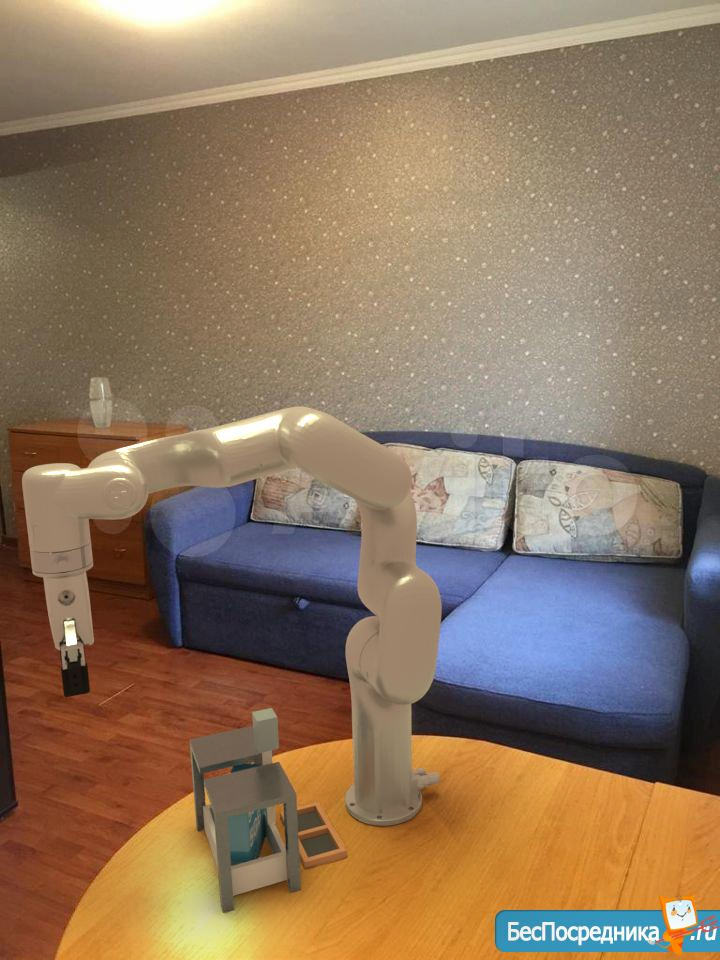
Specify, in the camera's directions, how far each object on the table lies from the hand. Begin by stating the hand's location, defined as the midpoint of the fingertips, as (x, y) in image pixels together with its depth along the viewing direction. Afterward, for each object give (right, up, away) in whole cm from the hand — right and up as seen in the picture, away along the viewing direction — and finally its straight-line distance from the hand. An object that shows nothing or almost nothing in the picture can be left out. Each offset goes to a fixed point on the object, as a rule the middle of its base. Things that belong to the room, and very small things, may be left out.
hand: (75, 679), depth 106 cm
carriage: (+22, -29, +11) cm, 38 cm away
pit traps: (+31, -28, +14) cm, 44 cm away
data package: (+22, -29, +11) cm, 38 cm away
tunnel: (+22, -29, +11) cm, 38 cm away
